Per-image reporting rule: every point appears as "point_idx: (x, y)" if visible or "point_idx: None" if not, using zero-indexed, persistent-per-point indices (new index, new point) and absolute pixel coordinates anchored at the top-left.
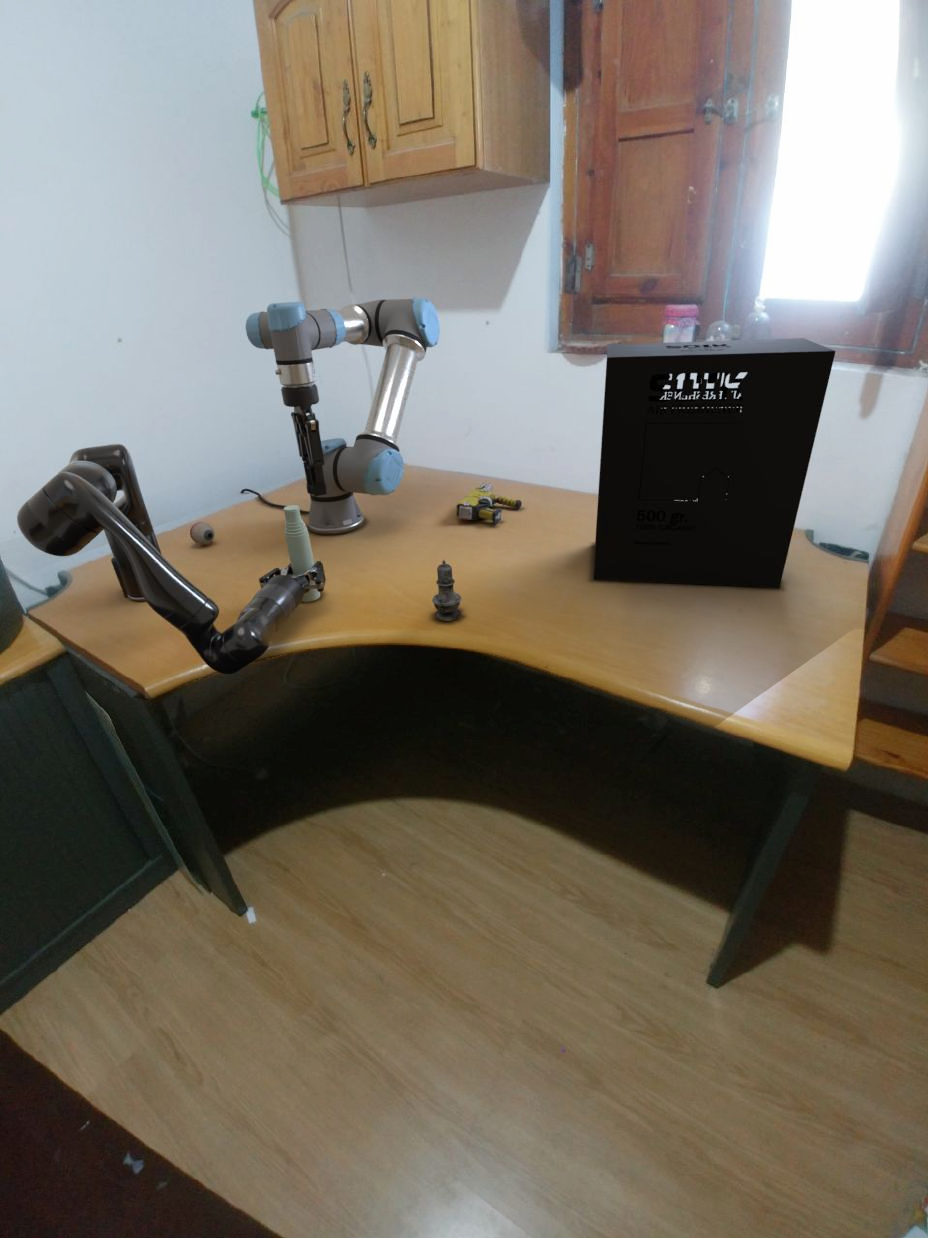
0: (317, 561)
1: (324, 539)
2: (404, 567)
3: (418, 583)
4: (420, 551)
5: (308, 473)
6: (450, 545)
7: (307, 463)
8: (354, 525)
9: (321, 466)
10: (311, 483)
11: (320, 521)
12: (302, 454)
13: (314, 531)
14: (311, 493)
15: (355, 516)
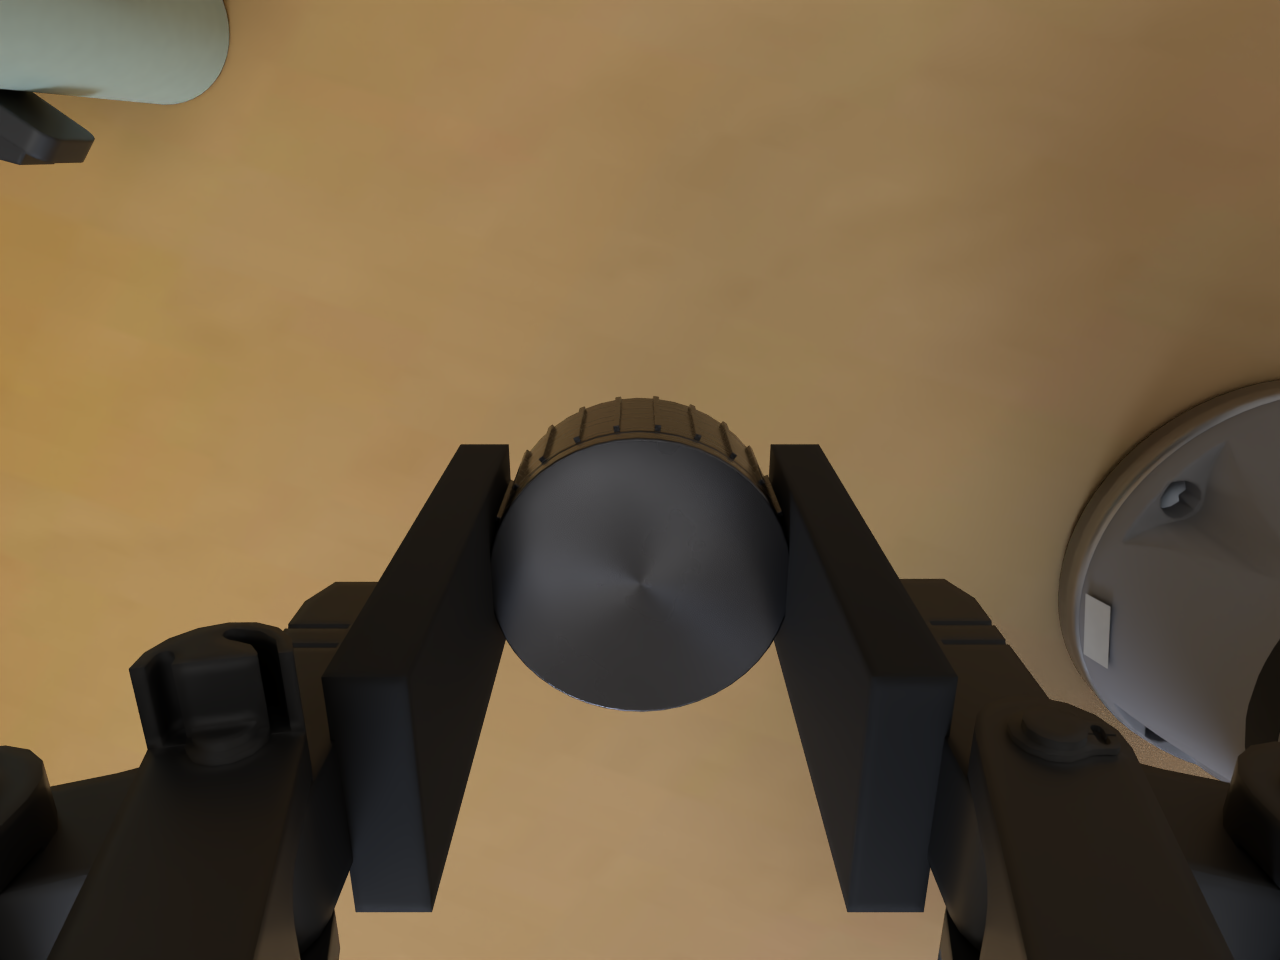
0: (21, 126)
1: (1065, 414)
2: None
3: (73, 656)
4: (482, 814)
5: (816, 598)
6: (472, 952)
7: (856, 732)
8: (1077, 654)
9: (362, 891)
10: (652, 522)
11: (1232, 467)
12: (1040, 838)
13: (1241, 393)
14: (549, 429)
15: (1128, 708)
